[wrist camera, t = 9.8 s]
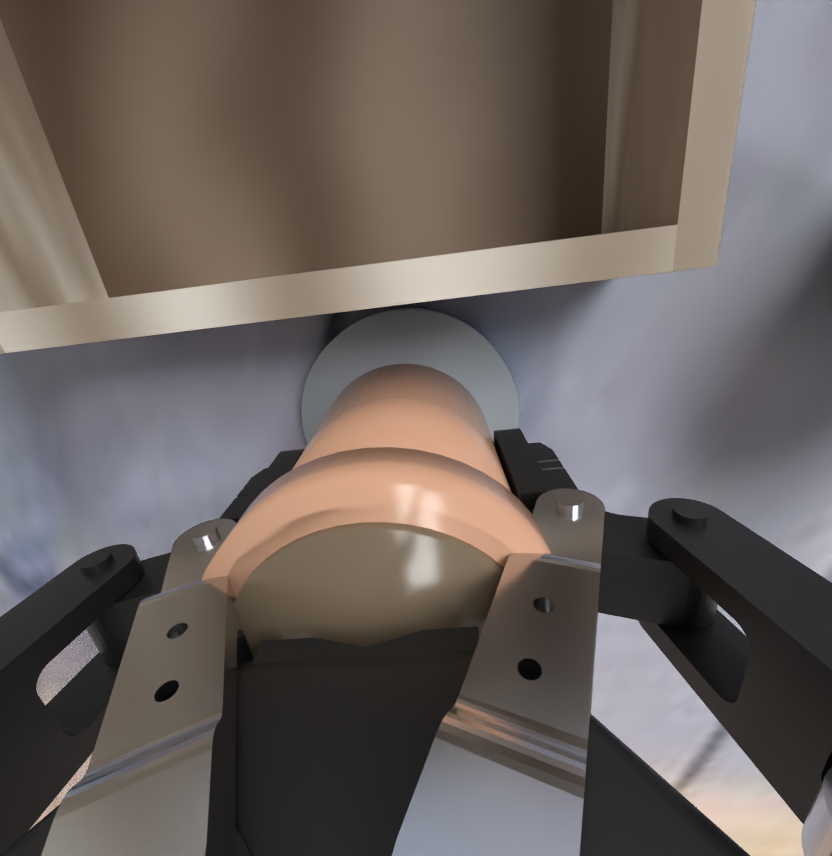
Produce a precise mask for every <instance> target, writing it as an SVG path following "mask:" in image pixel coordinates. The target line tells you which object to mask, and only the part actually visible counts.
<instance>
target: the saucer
mask: <svg viewBox="0 0 832 856" xmlns="http://www.w3.org/2000/svg"><path fill="white" fill-rule="evenodd" d="M393 364H417V365H423V366H427V367H431V368H434V369H436V370H439V371H442V372H444V373H445V374H447V375H449V376H451V377H453V378H454V379H455V380H457V381H458V382H460V383H461V384H462V385H463V386H464V387H465V388H466V389H467V390H468V391H469V392H470V393H471V394H472V396H473V397H474V398H475V400H476V401H477V403H478V405H479V406H480V408H481V410H482V413H483V415H484V417H485V420H486V423H487V426H488V429H489V431H490V434H491V437H492V440H493V442H494V431H496V430H506V429H516V428H519V419H520V408H519V398H518V394H517V390H516V385H515V383H514V380H513V378H512V375H511V373H510V370H509V369H508V367H507V365H506V364H505V362H504V360H503V358H502V357H501V356H500V354H499V353H498V352H497V351H496V349H495V348H494V347H493V345H492V344H491V343H490V342H489V341H488V340H487V339H486V338H485V337H484V336H483V335H482V334H481V333H480V332H478V331H477V330H475V329H474V328H473V327H471V326H470V325H469V324H467V323H465V322H463V321H461V320H459V319H457V318H456V317H453V316H450V315H448V314H445V313H442V312H438V311H434V310H429V309H422V308H396V309H391V310H386V311H381V312H378V313H375V314H372V315H369V316H367V317H365V318H363V319H361V320H359V321H357V322H355V323H353V324H352V325H350V326H349V327H347V328H346V329H345V330H343V331H342V332H341V333H340V334H339V335H337V336H336V337H335V338H334V339H333V340H332V341H331V342H330V343H329V344H328V345H327V346H326V347H325V348H324V350H323V351H322V352H321V353H320V355H319V356H318V358H317V359H316V361H315V363H314V364H313V366H312V368H311V370H310V372H309V375H308V377H307V380H306V383H305V387H304V390H303V395H302V404H301V417H302V426H303V431H304V436H305V439H306V442H307V445H308V443H309V442H310V440H311V438H312V437H313V435H314V434H315V432H316V430H317V429H318V427H319V426H320V424H321V422H322V421H323V419H324V418H325V416H326V414H327V413H328V411H329V410H330V408H331V406H332V405H333V403H334V402H335V400H336V399H337V397H338V396H339V394H340V393H341V392H342V391H343V390H344V389H345V387H346V386H348V385H349V384H350V383H351V382H352V381H353V380H355V379H356V378H358V377H359V376H361V375H363V374H364V373H367V372H369V371H371V370H373V369H376V368H379V367H383V366H387V365H393Z"/></svg>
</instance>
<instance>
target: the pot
mask: <svg viewBox="0 0 832 856" xmlns="http://www.w3.org/2000/svg"><path fill="white" fill-rule="evenodd" d="M510 553H539V554H545V553H547V554H551V552H550V549H549V547H548V544H547V542H546V540H545V537H544V535H543V533H542V530H541V528H540V526H539V524H538V523H537V521H536V520H535V518H534V516H533V515H532V514H531V512H530V511H529V510H528V509H527V508H526V507H525V505H524V504H523V503H522V502H521V501H520V500H519V499H518V498H517V497H516V496H515V495H514V494H513V493H512V492H511V489H510V486H509V484H508V481H507V478H506V475H505V473H504V470H503V467H502V464H501V462H500V459H499V456H498V453H497V451H496V448H495V445H494V442H493V440H492V437H491V434H490V431H489V429H488V426H487V423H486V420H485V417H484V415H483V413H482V410H481V408H480V406H479V405H478V403H477V401H476V400H475V398H474V397H473V396H472V394H471V393H470V392H469V391H468V390H467V389H466V388H465V387H464V386H463V385H462V384H461V383H460V382H458V381H457V380H455V379H454V378H453V377H451V376H449V375H447V374H445V373H444V372H442V371H439V370H436V369H434V368H431V367H427V366H423V365H417V364H393V365H387V366H383V367H379V368H376V369H373V370H371V371H369V372H367V373H364V374H363V375H361V376H359V377H358V378H356V379H355V380H353V381H352V382H351V383H350V384H349V385H348V386H346V387H345V389H344V390H343V391H342V392H341V393H340V394H339V396H338V397H337V399H336V400H335V402H334V403H333V405H332V406H331V408H330V410H329V411H328V413H327V414H326V416H325V418H324V419H323V421H322V422H321V424H320V426H319V427H318V429H317V430H316V432H315V434H314V435H313V437H312V438H311V440H310V442H309V443H308V445H307V446H306V448H305V450H304V451H303V453H302V454H301V456H300V458H299V459H298V461H297V462H296V464H295V466H294V467H293V469H292V470H291V471H289V472H288V473H286V474H284V475H283V476H281V477H279V478H278V479H277V480H276V481H274V482H273V483H272V484H271V485H269V486H268V487H267V488H266V489H264V490H263V491H262V492H261V493H260V494H259V496H258V497H257V498H256V499H255V500H254V501H253V502H252V503H251V504H250V506H249V507H248V508H247V510H246V511H245V513H244V514H243V515H242V517H241V518H240V520H239V521H238V523H237V524H236V525H235V527H234V528H233V530H232V531H231V533H230V534H229V535H228V537H227V538H226V540H225V541H224V542H223V544H222V545H221V547H220V548H219V550H218V551H217V553H216V554H215V556H214V557H213V559H212V560H211V562H210V563H209V565H208V567H207V568H206V570H205V573H204V575H203V577H202V580H205V579H209V578H215V577H222V576H228V578H229V580H230V583H231V586H232V588H233V591H234V594H235V596H236V600H235V602H234V604H235V606H236V609H237V612H238V614H239V617H240V620H241V622H242V625H243V628H244V630H245V633H246V635H247V638H248V641H249V643H250V646H251V649H252V651H253V654H254V657H255V655H256V653H257V650H258V648H259V645H260V643H261V641H268V640H283V639H298V638H312V637H314V638H319V639H325V640H330V641H336V642H341V643H347V644H353V645H358V646H370V645H374V644H377V643H381V642H384V641H388V640H391V639H394V638H398V637H401V636H405V635H408V634H411V633H415V632H418V631H422V630H431V629H445V628H460V627H475V626H478V630H479V637H480V635H481V632H482V630H483V627H484V624H485V621H486V618H487V616H488V613H489V610H490V607H491V604H492V602H493V599H494V596H495V593H496V590H497V588H498V585H499V582H500V579H501V576H502V574H503V571H504V568H505V565H506V562H507V560H508V557H509V554H510Z"/></svg>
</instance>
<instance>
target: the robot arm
mask: <svg viewBox="0 0 832 856" xmlns="http://www.w3.org/2000/svg"><path fill="white" fill-rule="evenodd" d="M494 445H495V448H496V451H497V453H498V456H499V459H500V462H501V464H502V467H503V470H504V473H505V475H506V478H507V481H508V484H509V486H510V489H511V492H512V493H513V494H514V495H515V496H516V497H517V498H518V499H519V500H520V501H521V502H522V503H523V504H524V505H525V507H526V508H527V509H528V510H529V511H530V512H531V514H532V515H533V516H534V518H535V520H536V521H537V523H538V524H539V526H540V528H541V530H542V533H543V535H544V537H545V540H546V542H547V544H548V547H549V549H550V552H551V554H547V553H545V554H539V553H510V554H509V557H508V560H507V562H506V565H505V568H504V571H503V574H502V576H501V579H500V582H499V585H498V588H497V590H496V593H495V596H494V599H493V602H492V604H491V607H490V610H489V613H488V616H487V618H486V621H485V624H484V627H483V630H482V632H481V635H480V637H479V630H478V626H475V627H460V628H445V629H431V630H422V631H418V632H415V633H411V634H408V635H405V636H401V637H398V638H394V639H391V640H388V641H384V642H381V643H377V644H374V645H370V646H358V645H353V644H347V643H341V642H336V641H330V640H325V639H319V638H314V637H312V638H298V639H283V640H268V641H261V643H260V645H259V648H258V650H257V653H256V655H255V657H254V654H253V651H252V649H251V646H250V643H249V641H248V638H247V635H246V633H245V630H244V628H243V625H242V622H241V620H240V617H239V614H238V612H237V609H236V606H235V604H234V602H235V600H236V596H235V594H234V591H233V588H232V586H231V583H230V580H229V578H228V576H222V577H215V578H209V579H205V580H202V577H203V575H204V573H205V570H206V568H207V567H208V565H209V563H210V562H211V560H212V559H213V557H214V556H215V554H216V553H217V551H218V550H219V548H220V547H221V545H222V544H223V542H224V541H225V540H226V538H227V537H228V535H229V534H230V533H231V531H232V530H233V528H234V527H235V525H236V524H237V523H238V521H239V520H240V518H241V517H242V515H243V514H244V513H245V511H246V510H247V508H248V507H249V506H250V504H251V503H252V502H253V501H254V500H255V499H256V498H257V497H258V496H259V494H260V493H261V492H262V491H263V490H264V489H266V488H267V487H268V486H269V485H271V484H272V483H273V482H274V481H276V480H277V479H278V478H279V477H281V476H283V475H284V474H286V473H288V472H289V471H291V470H292V469H293V467H294V466H295V464H296V462H297V461H298V459H299V458H300V456H301V454H302V453H303V451H304V450H305V449H300V450H290V451H281V452H280V453H279V454H278V456H277V457H276V458H275V460H274V461H273V462H272V464H271V465H270V467H269V468H266V469H264V470H262V471H261V472H259V473H258V474H256V475H255V476H253V477H252V478H251V479H250V480H249V482H248V483H247V484H246V485H245V487H244V490H242V491H241V492H240V493H239V494H238V496H237V498H235V499H234V501H233V502H232V503H231V505H230V506H229V507H228V508H227V510H226V511H225V512H224V513H223V515H222V516H221V517H220V519H215V520H210V521H207V522H204V523H201V524H199V525H196V526H194V527H192V528H191V529H189V530H187V531H186V532H184V533H183V534H182V535H181V536H179V537H178V539H177V540H176V541H175V542H174V544H173V547H172V551H171V553H167V554H164V555H160V556H156V557H153V558H149V559H146V560H142V561H140V559H139V557H138V555H137V553H136V551H135V549H134V547H133V546H131V545H127V544H120V545H114V546H109V547H106V548H103V549H100V550H97V551H95V552H93V553H91V554H89V555H87V556H85V557H83V558H81V559H80V560H78V561H77V562H75V563H74V564H72V565H71V566H69V567H68V568H67V569H65V570H64V571H63V572H61V573H60V574H59V575H57V576H56V577H54V578H53V579H52V580H50V581H49V582H48V583H46V584H45V585H44V586H42V587H41V588H39V589H38V590H37V591H35V592H34V593H33V594H31V595H30V596H28V597H27V598H26V599H24V600H23V601H22V602H20V603H19V604H18V605H16V606H15V607H13V608H12V609H11V610H9V611H8V612H7V613H5V614H4V615H3V616H1V617H0V856H750V855H749V854H748V853H747V852H746V851H744V850H743V849H742V848H741V847H740V846H739V845H738V844H737V843H735V842H734V841H733V840H732V839H731V838H730V837H729V836H728V835H726V834H725V833H724V832H723V831H722V830H721V829H720V828H719V827H717V826H716V825H715V824H714V823H713V822H712V821H711V820H710V819H708V818H707V817H706V816H705V815H704V814H703V813H702V812H701V811H699V810H698V809H697V808H696V807H695V806H694V805H693V804H692V803H690V802H689V801H688V800H687V799H686V798H685V797H684V796H683V795H681V794H680V793H679V792H678V791H677V790H676V789H675V788H674V787H672V786H671V785H670V784H669V783H668V782H667V781H666V780H665V779H663V778H662V777H661V776H660V775H659V774H658V773H657V772H656V771H654V770H653V769H652V768H651V767H650V766H649V765H648V764H647V763H645V762H644V761H643V760H642V759H641V758H640V757H639V756H638V755H636V754H635V753H634V752H633V751H632V750H631V749H630V748H629V747H627V746H626V745H625V744H624V743H623V742H622V741H621V740H620V739H618V738H617V737H616V736H615V735H614V734H613V733H612V732H611V731H609V730H608V729H607V728H606V727H605V726H604V725H603V724H602V723H600V722H599V721H598V720H597V719H596V718H595V717H594V716H593V715H591V704H592V689H593V675H594V661H595V647H596V633H597V619H598V612H599V613H604V614H609V615H614V616H620V617H625V618H630V619H635V620H638V621H639V623H640V625H641V626H642V628H643V629H644V630H645V631H646V633H647V634H648V635H649V636H650V637H651V639H652V640H653V641H654V642H655V644H656V645H657V646H658V647H659V648H660V650H661V651H662V652H663V653H664V655H665V656H666V657H667V658H668V659H669V661H670V662H671V663H672V664H673V666H674V667H675V668H676V669H677V670H678V672H679V673H680V674H681V675H682V677H683V678H684V679H685V680H686V681H687V683H688V684H689V685H690V686H691V688H692V689H693V690H694V691H695V692H696V694H697V695H698V696H699V697H700V699H701V700H702V701H703V702H704V703H705V705H706V706H707V707H708V708H709V710H710V711H711V712H712V713H713V714H714V716H715V717H716V718H717V719H718V721H719V722H720V723H721V724H722V725H723V727H724V728H725V729H726V730H727V732H728V733H729V734H730V735H731V736H732V738H733V739H734V740H735V741H736V743H737V744H738V745H739V746H740V747H741V749H742V750H743V751H744V752H745V754H746V755H747V756H748V757H749V758H750V760H751V761H752V762H753V763H754V765H755V766H756V767H757V768H758V769H759V771H760V772H761V773H762V774H763V776H764V777H765V778H766V779H767V780H768V782H769V783H770V784H771V785H772V787H773V788H774V789H775V790H776V791H777V793H778V794H779V795H780V796H781V798H782V799H783V800H784V801H785V802H786V804H787V805H788V806H789V807H790V809H791V810H792V811H793V812H794V813H795V815H796V816H797V817H798V818H799V820H800V821H801V822H802V823H803V824H804V825H803V829H802V834H801V835H802V847H803V851H804V856H832V583H831V582H829V581H828V580H826V579H825V578H823V577H822V576H820V575H819V574H817V573H816V572H814V571H813V570H811V569H810V568H808V567H806V566H805V565H803V564H802V563H800V562H799V561H797V560H796V559H794V558H793V557H791V556H790V555H788V554H787V553H785V552H784V551H782V550H780V549H779V548H777V547H776V546H774V545H773V544H771V543H770V542H768V541H767V540H765V539H764V538H762V537H761V536H759V535H757V534H756V533H754V532H753V531H751V530H750V529H748V528H747V527H745V526H744V525H742V524H741V523H739V522H738V521H736V520H735V519H733V518H731V517H730V516H728V515H727V514H725V513H724V512H722V511H721V510H719V509H717V508H715V507H713V506H711V505H709V504H706V503H703V502H699V501H696V500H691V499H683V498H669V499H663V500H659V501H657V502H655V503H653V504H652V505H651V506H650V508H649V513H648V518H643V517H634V516H624V515H617V514H613V513H609V512H606V511H605V507H604V504H603V503H602V501H601V500H600V499H599V498H597V497H596V496H594V495H592V494H590V493H588V492H585V491H582V490H578V489H577V487H576V486H575V484H574V482H573V481H572V479H571V478H570V476H569V475H568V473H567V472H566V470H565V469H564V468H563V466H562V464H561V462H560V461H558V458H557V456H556V455H555V453H554V452H553V450H552V449H550V448H548V447H547V446H545V445H543V444H542V443H529V444H528V443H527V441H526V439H525V437H524V435H523V434H522V432H521V430H520V428H516V429H506V430H496V431H494ZM717 604H718V605H719V606H720V607H721V608H723V609H724V610H725V611H726V612H727V613H728V614H729V615H730V616H731V617H732V618H734V619H735V620H736V621H737V623H738V624H739V625H740V626H741V628H742V629H743V631H744V633H745V634H746V636H747V637H746V636H745V635H744V634H743V633H742V632H741V631H740V630H739V629H738V628H737V627H736V626H734V625H733V624H732V623H731V622H730V621H729V620H728V619H727V618H726V617H725V616H724V615H723V614H721V613H720V612H719V611H718V610H717ZM85 629H87V631H88V633H89V635H90V636H91V638H92V640H93V642H94V643H95V645H96V647H97V648H98V650H99V653H98V654H97V655H96V656H95V657H94V658H93V659H92V660H91V661H90V662H89V663H88V664H87V665H86V666H85V667H84V668H83V669H82V670H81V671H80V672H79V673H78V674H77V675H76V676H75V677H74V678H73V679H72V680H71V681H70V682H69V683H68V684H67V685H66V686H65V687H64V688H63V689H62V690H61V691H60V692H59V693H58V694H57V695H56V696H55V697H54V698H53V699H52V700H51V701H50V702H49V703H48V704H47V705H46V706H45V705H44V703H43V702H42V701H41V699H40V698H39V696H38V694H37V692H36V684H37V680H38V677H39V675H40V673H41V672H42V670H43V669H44V667H45V666H46V665H47V664H48V663H49V662H50V661H51V660H52V659H53V658H54V657H55V656H57V655H58V654H59V653H60V652H61V651H62V650H63V649H64V648H65V647H66V646H68V645H69V644H70V643H71V642H72V641H73V640H74V639H75V638H76V637H77V636H79V635H80V634H81V633H82V632H83V631H84V630H85ZM92 752H93V754H92V758H91V761H90V764H89V767H88V770H87V772H86V774H85V775H84V777H83V778H82V780H81V781H80V782H78V783H77V784H76V785H75V786H73V787H72V788H71V789H70V790H69V791H68V792H67V794H66V795H65V797H64V798H63V800H62V802H61V804H60V805H59V806H57V807H56V808H55V809H54V810H53V811H51V812H50V813H49V814H48V815H47V816H46V817H44V818H43V819H42V820H41V821H40V822H38V823H37V824H36V825H35V826H34V827H32V825H33V824H34V823H35V822H36V821H37V819H38V818H39V817H40V816H41V814H42V813H43V812H44V811H45V810H46V808H47V807H48V806H49V805H50V803H51V802H52V801H53V800H54V799H55V797H56V796H57V795H58V794H59V792H60V791H61V790H62V789H63V788H64V786H65V785H66V784H67V783H68V782H69V780H70V779H71V778H72V777H73V775H74V774H75V773H76V772H77V771H78V769H79V768H80V767H81V766H82V764H83V763H84V762H85V761H86V760H87V758H88V757H89V756H90V755H91V753H92ZM31 827H32V828H31ZM30 828H31V829H30ZM29 829H30V830H29ZM28 830H29V831H28Z"/></svg>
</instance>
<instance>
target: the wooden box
mask: <svg viewBox="0 0 832 856" xmlns="http://www.w3.org/2000/svg"><path fill="white" fill-rule="evenodd" d="M755 5H756V0H0V354H4V353H10V352H19V351H27V350H35V349H43V348H51V347H59V346H68V345H76V344H84V343H92V342H100V341H108V340H117V339H125V338H133V337H141V336H149V335H158V334H166V333H174V332H182V331H190V330H198V329H207V328H215V327H223V326H231V325H239V324H247V323H256V322H264V321H272V320H280V319H288V318H297V317H305V316H313V315H321V314H329V313H337V312H346V311H354V310H362V309H370V308H378V307H386V306H395V305H403V304H411V303H419V302H427V301H436V300H444V299H452V298H460V297H468V296H476V295H485V294H493V293H501V292H509V291H517V290H525V289H534V288H542V287H550V286H558V285H566V284H575V283H583V282H591V281H599V280H607V279H615V278H624V277H632V276H640V275H648V274H656V273H664V272H673V271H681V270H689V269H697V268H705V267H714V266H717V260H718V253H719V247H720V240H721V233H722V227H723V220H724V213H725V206H726V200H727V193H728V186H729V180H730V173H731V166H732V160H733V153H734V146H735V139H736V133H737V126H738V119H739V113H740V106H741V99H742V93H743V86H744V79H745V72H746V66H747V59H748V52H749V46H750V39H751V32H752V25H753V19H754V12H755Z"/></svg>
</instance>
